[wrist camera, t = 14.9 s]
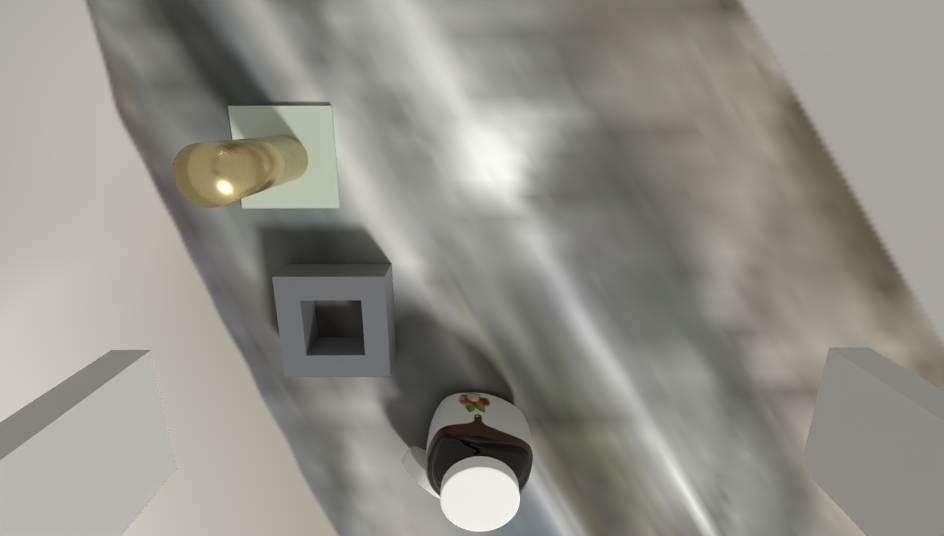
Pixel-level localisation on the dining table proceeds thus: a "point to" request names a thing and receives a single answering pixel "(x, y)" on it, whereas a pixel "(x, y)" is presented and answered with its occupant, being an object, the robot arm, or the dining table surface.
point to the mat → (317, 139)
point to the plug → (237, 168)
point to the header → (335, 354)
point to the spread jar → (475, 459)
